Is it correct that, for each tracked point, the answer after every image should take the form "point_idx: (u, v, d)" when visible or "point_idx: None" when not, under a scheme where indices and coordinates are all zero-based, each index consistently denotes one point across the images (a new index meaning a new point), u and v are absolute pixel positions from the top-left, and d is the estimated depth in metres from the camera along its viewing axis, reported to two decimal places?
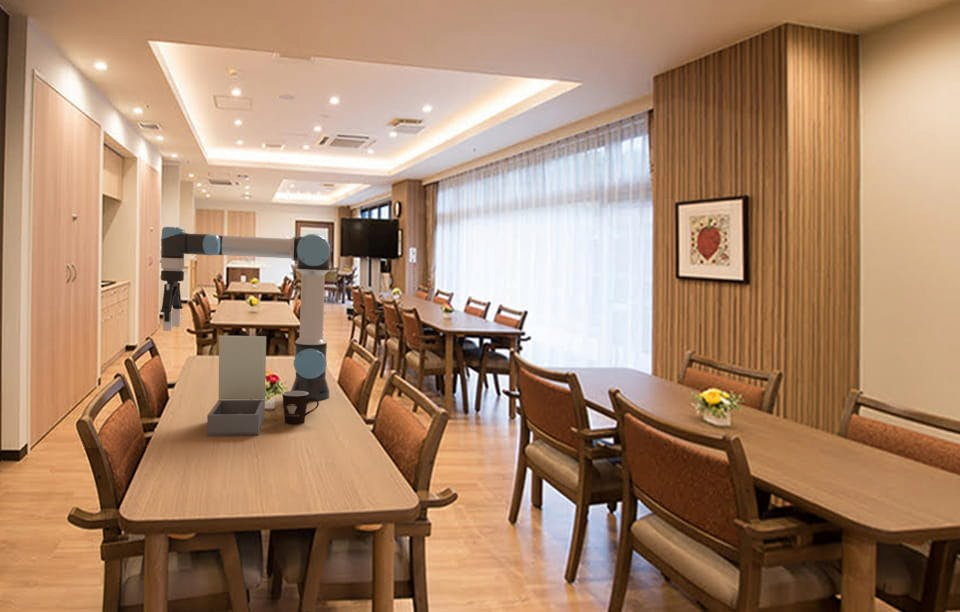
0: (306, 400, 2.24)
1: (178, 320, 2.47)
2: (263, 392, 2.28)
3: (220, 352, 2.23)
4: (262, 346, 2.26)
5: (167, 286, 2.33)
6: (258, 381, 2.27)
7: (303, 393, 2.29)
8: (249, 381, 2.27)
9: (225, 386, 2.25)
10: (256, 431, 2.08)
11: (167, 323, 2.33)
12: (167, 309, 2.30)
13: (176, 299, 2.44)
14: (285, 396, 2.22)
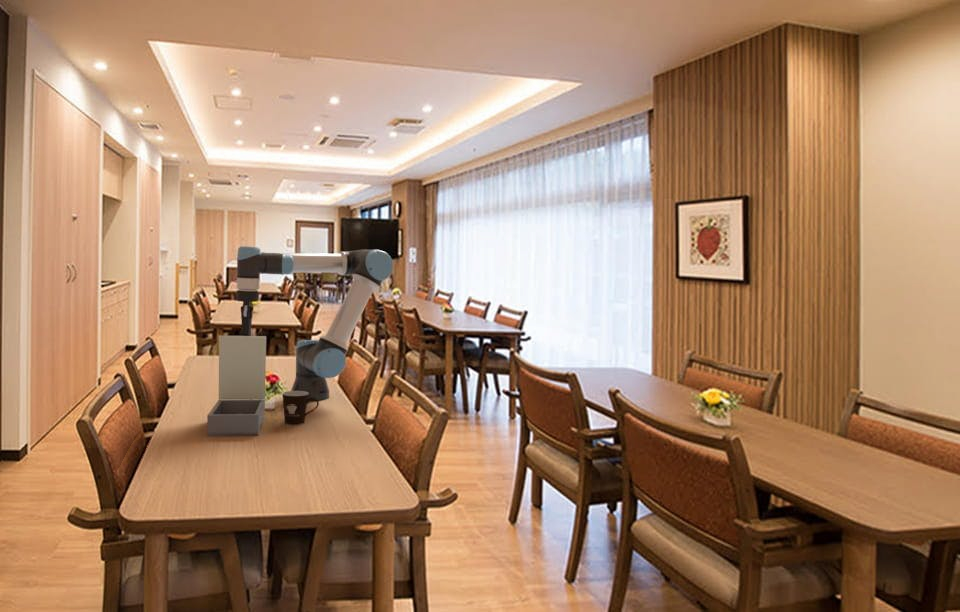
0: (306, 400, 2.24)
1: None
2: (263, 392, 2.28)
3: (220, 352, 2.23)
4: (262, 346, 2.26)
5: (244, 314, 2.30)
6: (258, 381, 2.27)
7: (303, 393, 2.29)
8: (249, 381, 2.27)
9: (225, 386, 2.25)
10: (256, 431, 2.08)
11: None
12: (247, 335, 2.33)
13: None
14: (285, 396, 2.22)
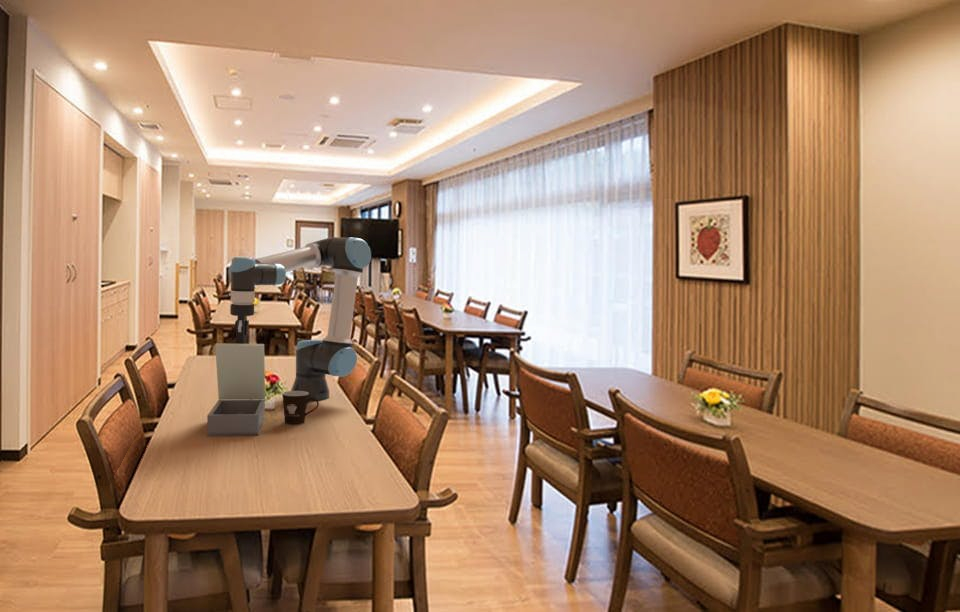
0: (306, 400, 2.24)
1: None
2: (263, 393, 2.28)
3: (217, 359, 2.18)
4: (260, 354, 2.20)
5: (239, 329, 2.17)
6: (257, 384, 2.25)
7: (303, 393, 2.29)
8: (248, 384, 2.25)
9: (225, 388, 2.24)
10: (256, 431, 2.08)
11: None
12: None
13: None
14: (285, 396, 2.22)
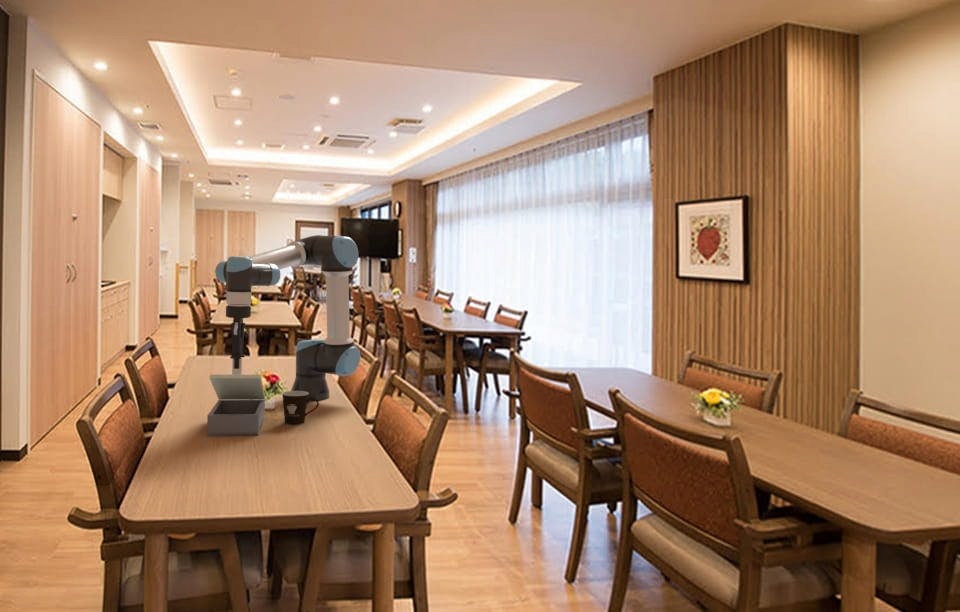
0: (306, 400, 2.24)
1: None
2: (262, 397, 2.27)
3: (213, 384, 2.11)
4: (257, 381, 2.12)
5: (234, 332, 2.06)
6: (256, 393, 2.23)
7: (303, 393, 2.29)
8: (247, 393, 2.22)
9: (224, 395, 2.22)
10: (256, 431, 2.08)
11: (237, 370, 2.12)
12: (238, 355, 2.09)
13: None
14: (285, 396, 2.22)
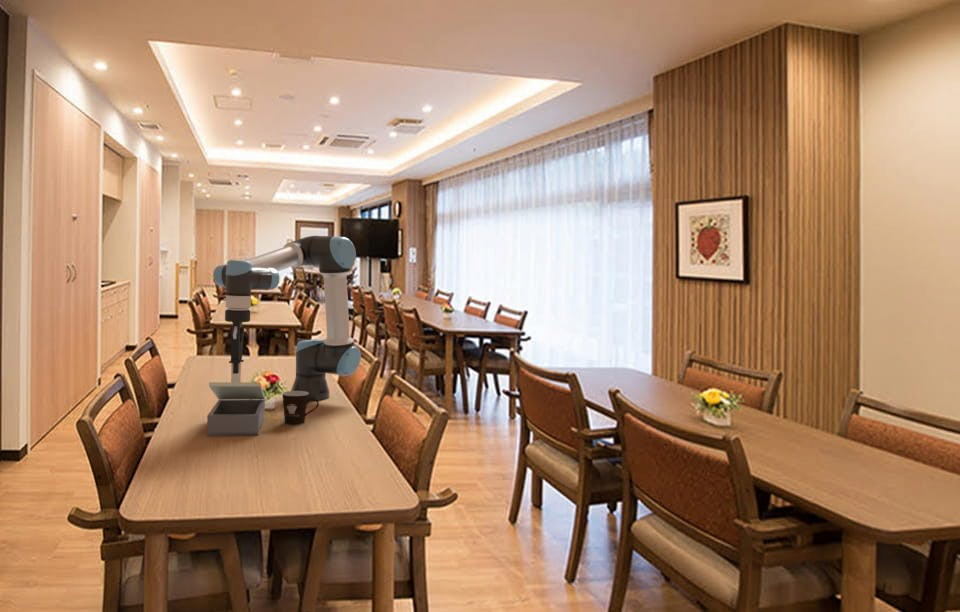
0: (306, 400, 2.24)
1: None
2: (262, 398, 2.26)
3: (213, 389, 2.10)
4: (257, 388, 2.11)
5: (234, 336, 2.04)
6: (256, 395, 2.22)
7: (303, 393, 2.29)
8: (247, 396, 2.22)
9: (223, 397, 2.22)
10: (256, 431, 2.08)
11: (236, 375, 2.10)
12: (237, 360, 2.07)
13: None
14: (285, 396, 2.22)
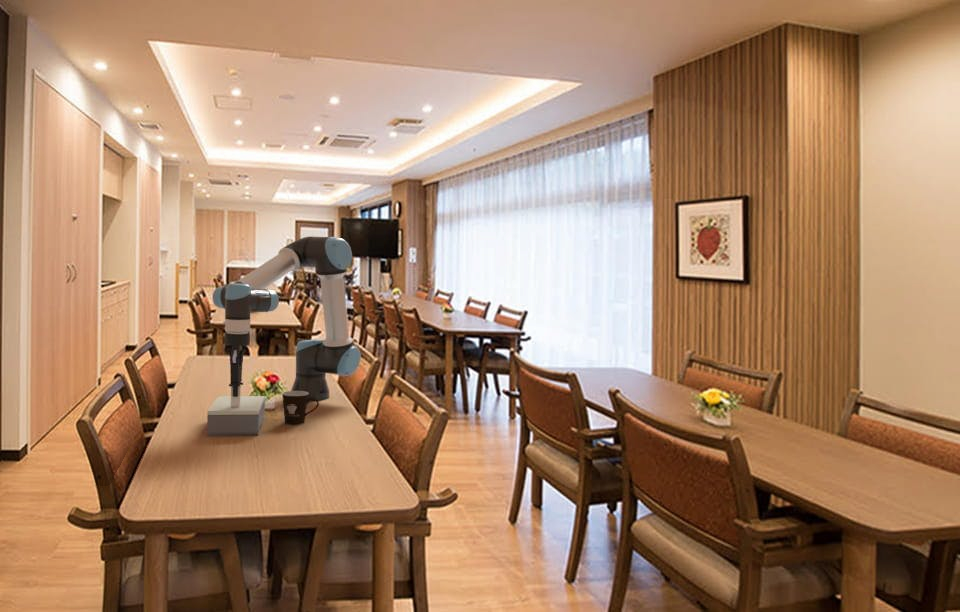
0: (306, 400, 2.24)
1: None
2: None
3: None
4: None
5: (233, 360, 2.04)
6: None
7: (303, 393, 2.29)
8: None
9: None
10: (256, 431, 2.08)
11: (235, 398, 2.10)
12: (236, 383, 2.07)
13: None
14: (285, 396, 2.22)
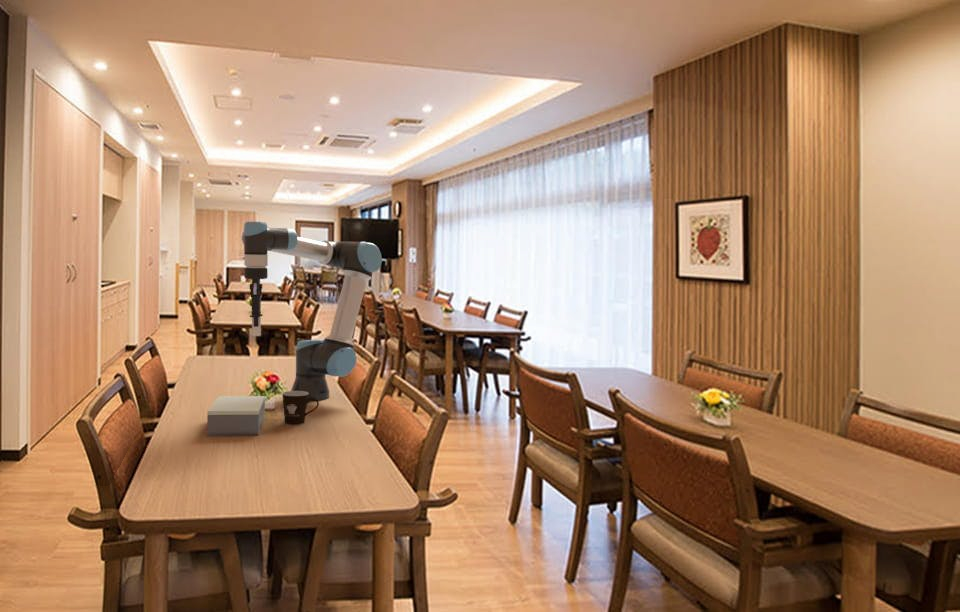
0: (306, 400, 2.24)
1: None
2: None
3: None
4: None
5: (254, 292, 2.21)
6: None
7: (303, 393, 2.29)
8: None
9: None
10: (256, 431, 2.08)
11: (256, 328, 2.27)
12: (257, 314, 2.24)
13: None
14: (285, 396, 2.22)
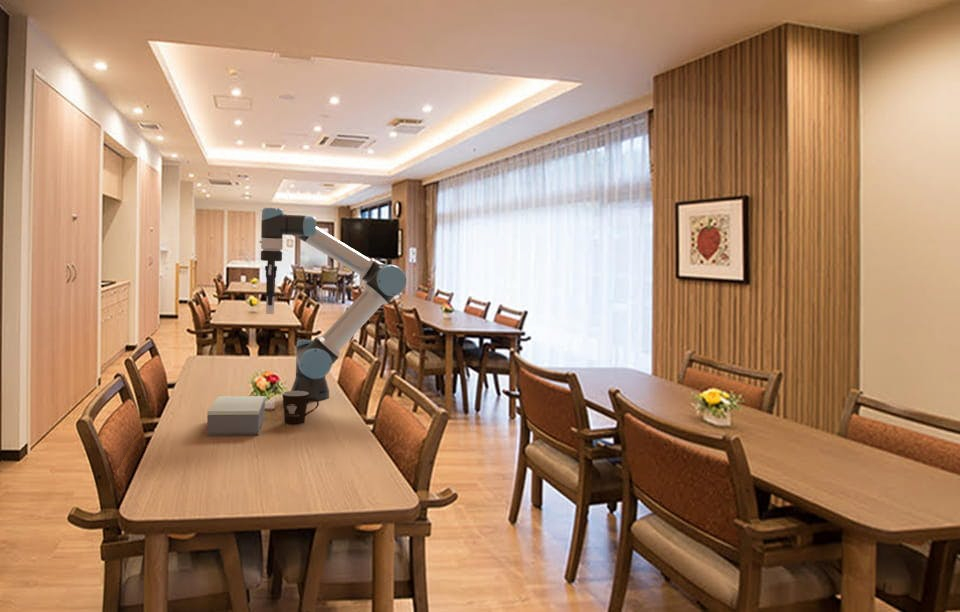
0: (306, 400, 2.24)
1: None
2: None
3: None
4: None
5: (269, 272, 2.39)
6: None
7: (303, 393, 2.29)
8: None
9: None
10: (256, 431, 2.08)
11: (270, 307, 2.45)
12: (271, 293, 2.42)
13: None
14: (285, 396, 2.22)
